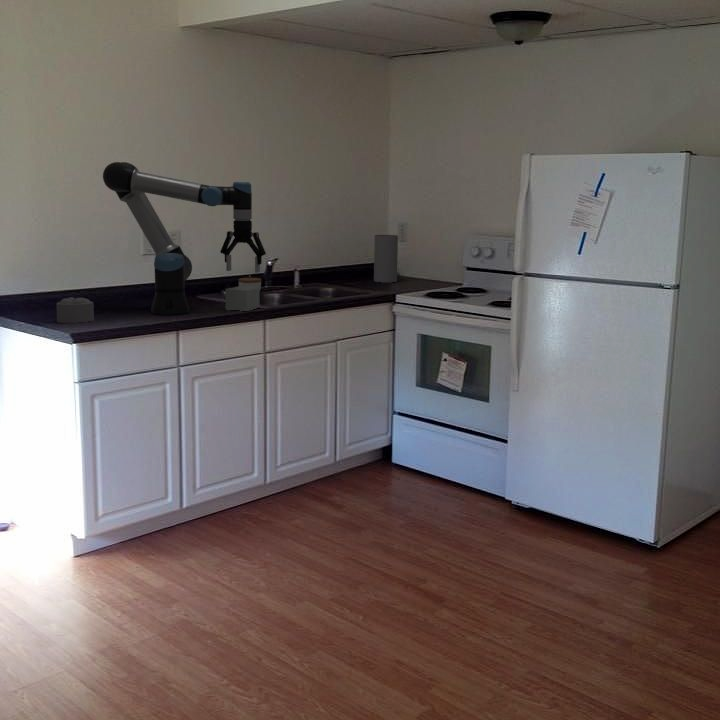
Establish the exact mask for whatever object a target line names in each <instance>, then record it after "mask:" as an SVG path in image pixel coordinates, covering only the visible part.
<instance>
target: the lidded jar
mask: <svg viewBox="0 0 720 720" xmlns="http://www.w3.org/2000/svg"><path fill="white" fill-rule="evenodd" d="M237 279H238V287H251V288H259V292H260V291H261V287H262V278H259V277H252V275H251V274H250V275H248V277H241V278H237Z"/></svg>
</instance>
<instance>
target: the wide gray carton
mask: <svg viewBox="0 0 720 720" xmlns="http://www.w3.org/2000/svg"><path fill="white" fill-rule="evenodd" d="M258 307H260V291H259V288H251V287H239V286H235V287H234V286H233V287H230V288H225V310H226V311H230V310H240V311H239V312H242V311H249V310H253V309H256V308H258ZM260 308H261V307H260ZM253 311H254V310H253ZM249 312H250V311H249Z"/></svg>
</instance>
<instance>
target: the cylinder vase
mask: <svg viewBox="0 0 720 720" xmlns="http://www.w3.org/2000/svg"><path fill="white" fill-rule="evenodd" d="M398 243H399V235H397V234H375V235H374V252H373V253H374V254H373V255H374V257H373V259H374V260H373V261H374V262H373V281H374V282H375V283H378V282H381V283H382V284H393V283H392V282H395V283H396V282H397V281H398V252H399V251H398V249H399V244H398ZM381 283H380V284H381Z"/></svg>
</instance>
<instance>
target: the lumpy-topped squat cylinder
mask: <svg viewBox="0 0 720 720" xmlns="http://www.w3.org/2000/svg"><path fill="white" fill-rule="evenodd" d="M55 305H56V323H59V324H79V323H78V322H84V323H89V322H88V321H93V322H95V310H94V308H95V305H94V301H91V300H90V299H88V298H85V297H76V298H75V297H71V296H70V297H67V298H66V297H65V298H62V299H61V300H60V301H58V302H56V304H55Z"/></svg>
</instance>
